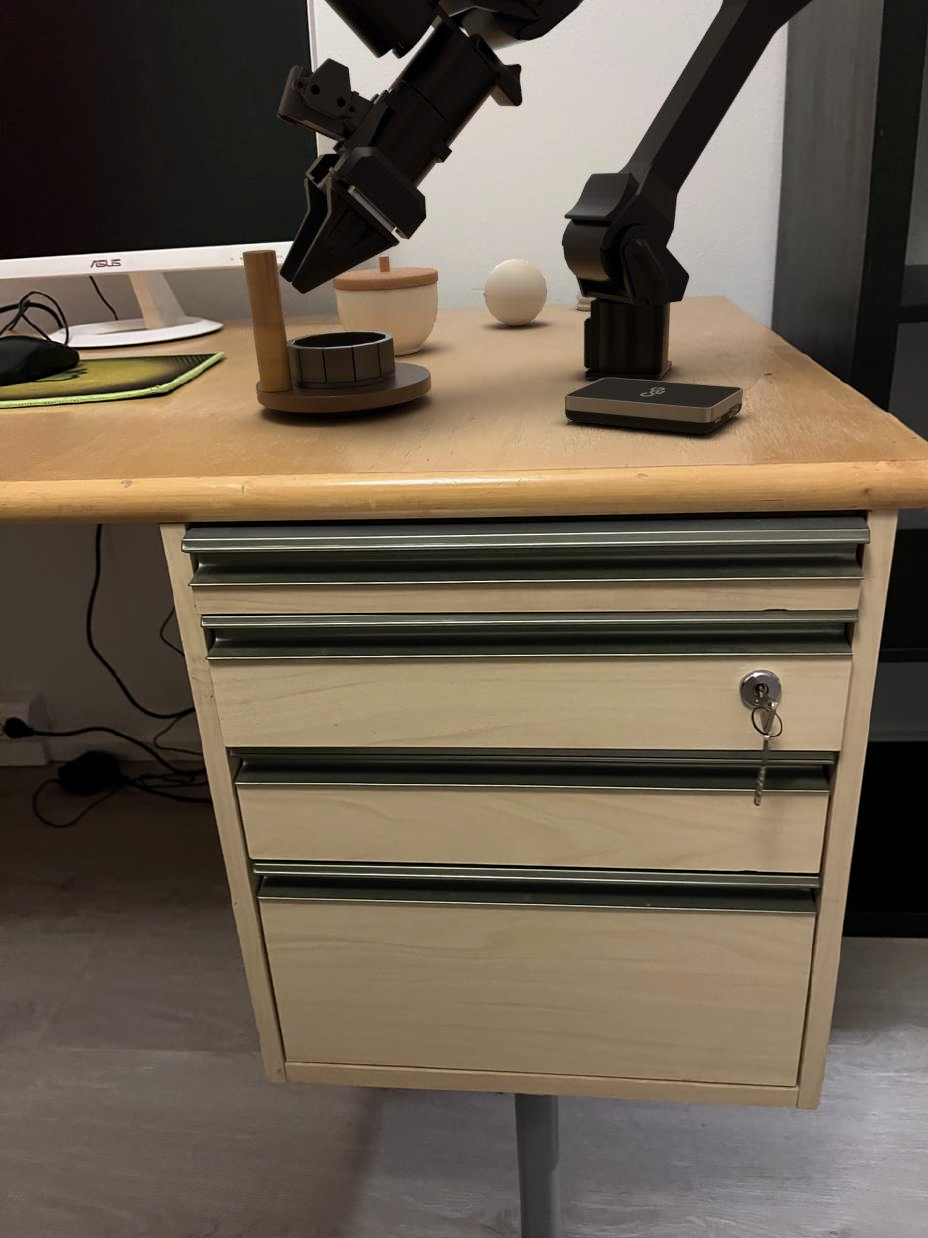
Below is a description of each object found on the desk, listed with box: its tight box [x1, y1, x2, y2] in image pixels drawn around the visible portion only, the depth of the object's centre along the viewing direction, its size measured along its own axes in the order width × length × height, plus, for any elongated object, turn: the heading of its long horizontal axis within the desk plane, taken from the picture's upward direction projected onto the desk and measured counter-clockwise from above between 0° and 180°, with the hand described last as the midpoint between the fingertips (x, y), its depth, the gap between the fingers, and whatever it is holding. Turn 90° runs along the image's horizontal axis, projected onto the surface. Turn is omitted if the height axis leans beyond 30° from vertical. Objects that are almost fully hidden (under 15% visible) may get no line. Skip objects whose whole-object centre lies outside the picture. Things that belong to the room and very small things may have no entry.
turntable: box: [241, 249, 432, 413], centre depth 75 cm, size 14×14×11 cm
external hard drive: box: [564, 378, 744, 435], centre depth 68 cm, size 7×11×2 cm, turn 56°
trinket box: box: [332, 255, 439, 357], centre depth 98 cm, size 11×11×9 cm
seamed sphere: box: [471, 258, 548, 326], centre depth 111 cm, size 10×7×7 cm
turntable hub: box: [299, 405, 394, 418], centre depth 77 cm, size 8×8×1 cm
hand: (289, 283), depth 71 cm, fingers open, 9 cm apart
